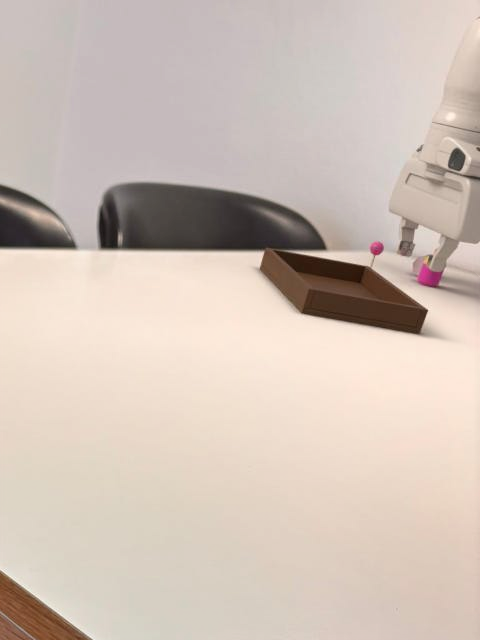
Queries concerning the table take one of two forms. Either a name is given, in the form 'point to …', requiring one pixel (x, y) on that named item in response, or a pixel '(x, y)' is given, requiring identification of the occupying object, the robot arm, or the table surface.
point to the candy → (414, 267)
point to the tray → (342, 291)
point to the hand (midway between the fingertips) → (417, 262)
